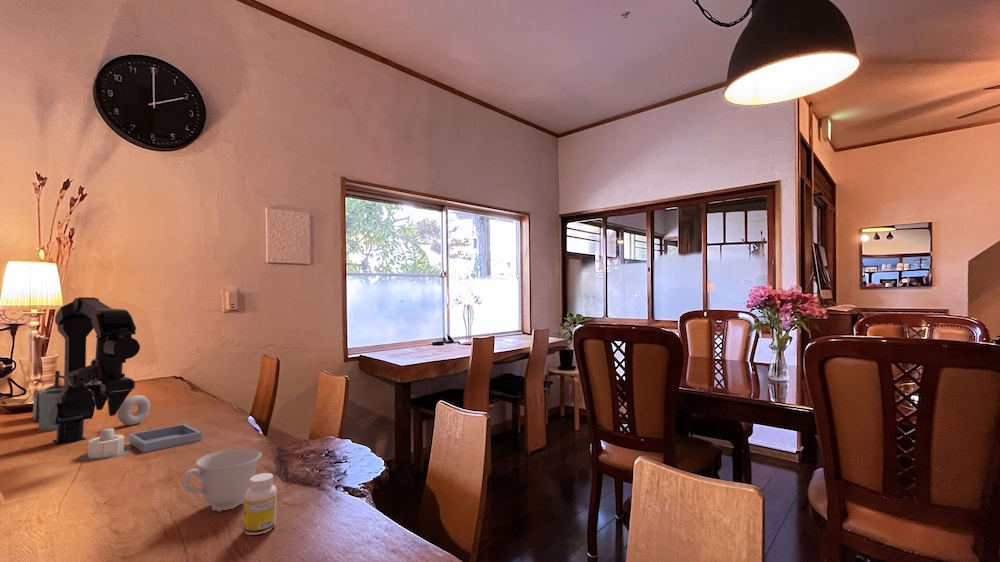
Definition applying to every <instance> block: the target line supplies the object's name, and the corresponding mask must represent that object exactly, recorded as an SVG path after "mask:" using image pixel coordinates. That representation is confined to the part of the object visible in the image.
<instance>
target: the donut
mask: <svg viewBox="0 0 1000 562" xmlns="http://www.w3.org/2000/svg"><path fill="white" fill-rule="evenodd" d="M134 406H137V410H136V411H135V413H134V414H132V409H133V407H134ZM150 409H151V402H150V401H149V399H148V398H147V396H145V395H142V394H134V395H131V396H129V397H128V396H127V397H126V399H125V400H124V402H123V403H122V405H121V406H120V408H119V409H118V411H117V418H118V420H119V421H120V423H122V424H123V425H125V426H126V425H127V426H133V425H134V424H135V425H137V424H140V423H141V422H142V421H143V420H145V419H146V418H147V417H148V415H149V413H150Z"/></svg>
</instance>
